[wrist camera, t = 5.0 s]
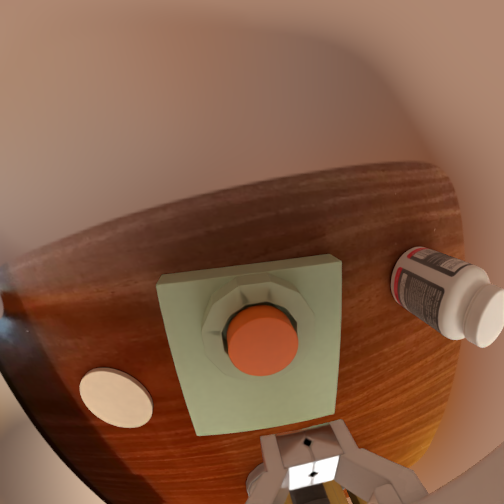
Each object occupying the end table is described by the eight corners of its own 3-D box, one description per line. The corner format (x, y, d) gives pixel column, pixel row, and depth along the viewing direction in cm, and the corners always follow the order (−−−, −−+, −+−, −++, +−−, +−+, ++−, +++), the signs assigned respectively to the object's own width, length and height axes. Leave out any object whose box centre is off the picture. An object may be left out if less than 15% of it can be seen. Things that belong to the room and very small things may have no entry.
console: (161, 274, 19) (149, 295, 15) (329, 253, 20) (354, 268, 17) (197, 419, 22) (196, 451, 19) (326, 398, 24) (341, 426, 20)
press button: (222, 309, 16) (223, 322, 15) (289, 299, 17) (297, 311, 15) (231, 364, 17) (232, 381, 16) (292, 355, 18) (299, 370, 16)
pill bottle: (413, 314, 23) (484, 366, 13) (377, 289, 22) (457, 346, 12) (442, 263, 22) (522, 298, 13) (410, 233, 21) (501, 262, 11)
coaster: (70, 366, 20) (68, 370, 19) (140, 366, 21) (138, 370, 20) (98, 421, 22) (96, 425, 21) (162, 424, 22) (161, 428, 22)
